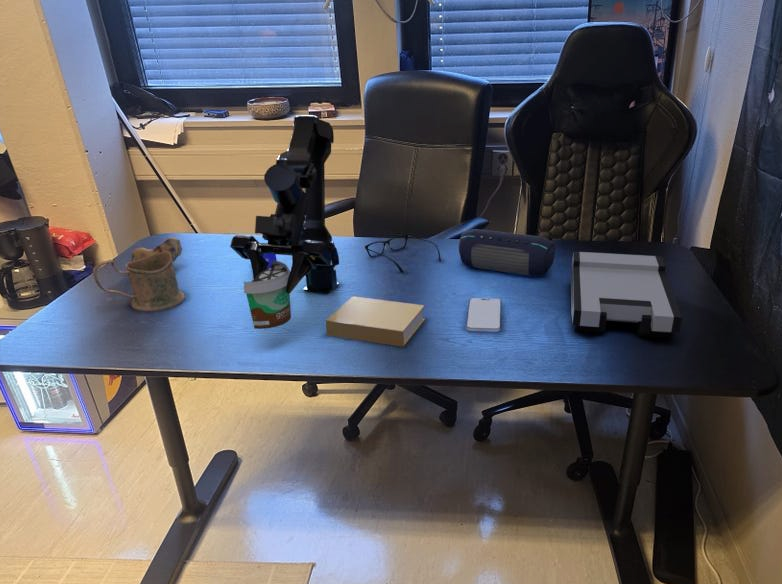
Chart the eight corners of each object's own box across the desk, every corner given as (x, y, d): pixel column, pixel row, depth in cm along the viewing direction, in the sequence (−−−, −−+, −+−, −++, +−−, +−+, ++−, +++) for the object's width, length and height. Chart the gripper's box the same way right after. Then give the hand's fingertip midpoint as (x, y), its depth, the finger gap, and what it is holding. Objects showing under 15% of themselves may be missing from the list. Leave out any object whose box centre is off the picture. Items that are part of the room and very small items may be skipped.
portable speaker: (452, 270, 164) (452, 233, 159) (465, 258, 172) (466, 222, 167) (546, 284, 156) (550, 245, 151) (556, 270, 164) (559, 233, 159)
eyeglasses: (408, 245, 181) (408, 232, 179) (445, 259, 171) (445, 245, 169) (362, 259, 171) (361, 245, 169) (398, 274, 161) (397, 260, 159)
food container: (281, 335, 118) (273, 285, 113) (250, 332, 119) (242, 282, 114) (306, 308, 128) (301, 261, 123) (278, 305, 129) (272, 259, 124)
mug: (95, 309, 142) (80, 258, 136) (170, 287, 153) (159, 239, 148) (117, 324, 135) (102, 272, 129) (194, 300, 147) (183, 251, 141)
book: (326, 335, 131) (325, 320, 129) (353, 310, 142) (352, 296, 140) (403, 347, 126) (402, 331, 125) (424, 319, 137) (424, 305, 136)
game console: (570, 341, 129) (574, 304, 125) (570, 283, 156) (573, 251, 152) (675, 349, 126) (683, 311, 122) (656, 288, 153) (662, 256, 149)
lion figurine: (188, 267, 166) (181, 234, 161) (185, 274, 161) (178, 240, 157) (128, 271, 163) (119, 237, 158) (123, 278, 158) (114, 244, 154)
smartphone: (465, 327, 132) (469, 297, 145) (465, 332, 133) (469, 302, 146) (500, 329, 132) (501, 298, 145) (500, 333, 132) (501, 303, 145)
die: (258, 271, 163) (255, 252, 161) (253, 265, 167) (250, 247, 164) (277, 267, 165) (275, 249, 163) (272, 262, 169) (269, 244, 167)
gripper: (226, 193, 117) (205, 270, 113) (320, 198, 114) (302, 278, 110) (252, 221, 128) (234, 293, 124) (339, 228, 124) (323, 301, 120)
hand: (271, 291), depth 119 cm, fingers closed on food container, 6 cm apart
